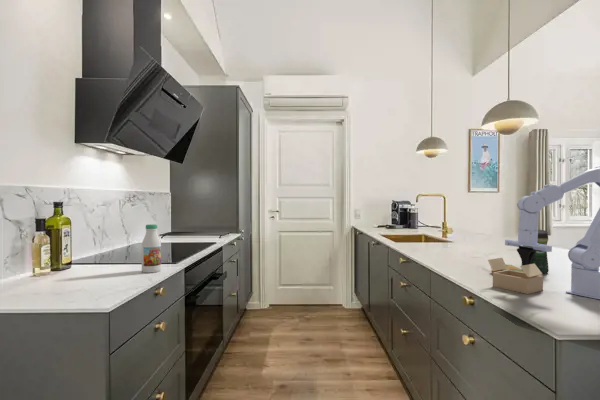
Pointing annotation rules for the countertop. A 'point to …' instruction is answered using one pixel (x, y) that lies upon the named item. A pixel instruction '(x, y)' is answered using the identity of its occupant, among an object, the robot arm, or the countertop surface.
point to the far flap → (497, 264)
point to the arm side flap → (531, 270)
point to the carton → (510, 267)
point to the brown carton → (517, 281)
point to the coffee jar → (541, 253)
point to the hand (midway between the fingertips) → (526, 268)
